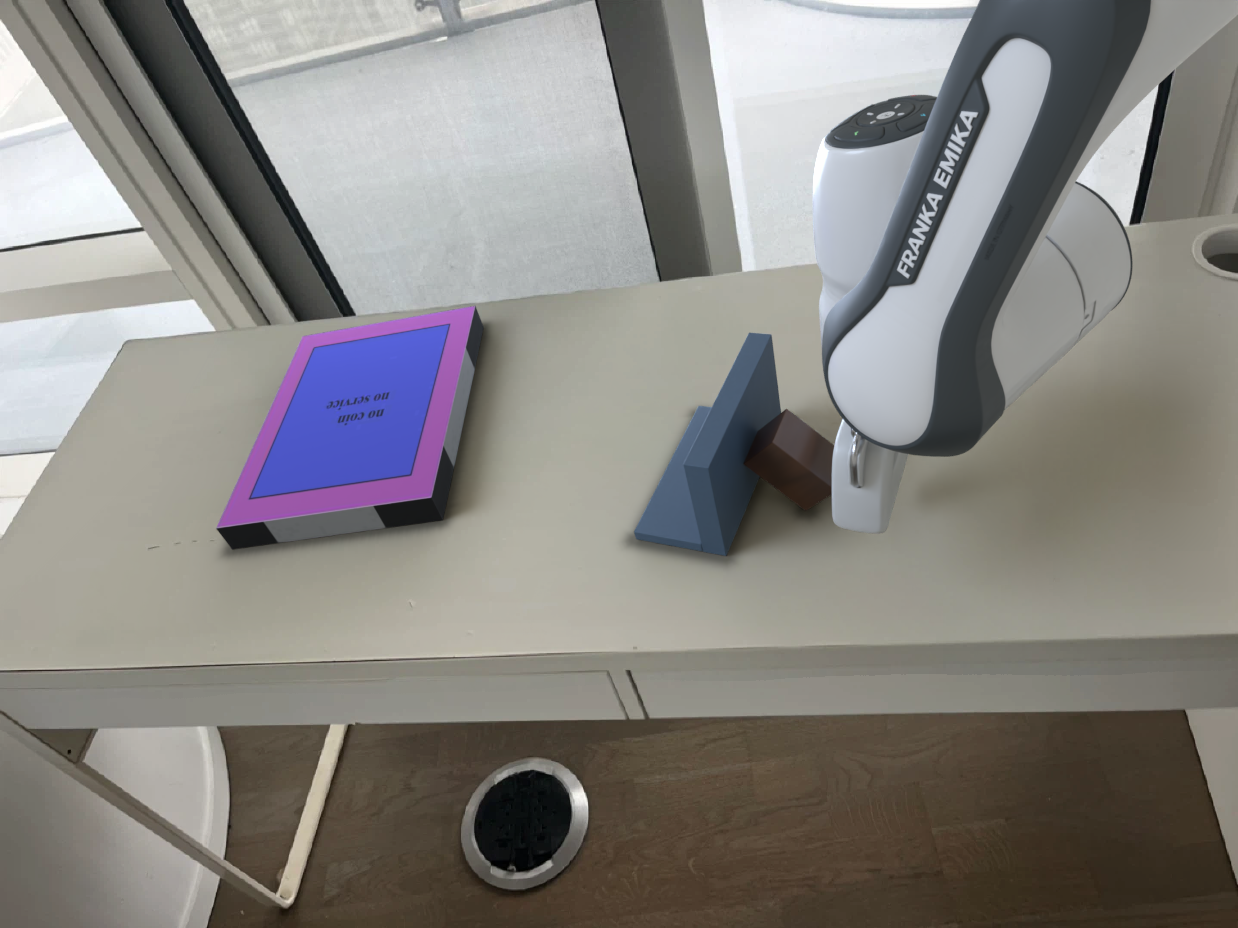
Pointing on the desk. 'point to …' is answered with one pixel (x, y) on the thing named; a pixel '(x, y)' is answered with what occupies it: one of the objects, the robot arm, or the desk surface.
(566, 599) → the desk surface
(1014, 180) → the robot arm
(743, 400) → the bookend
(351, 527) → the book
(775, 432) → the walnut block
